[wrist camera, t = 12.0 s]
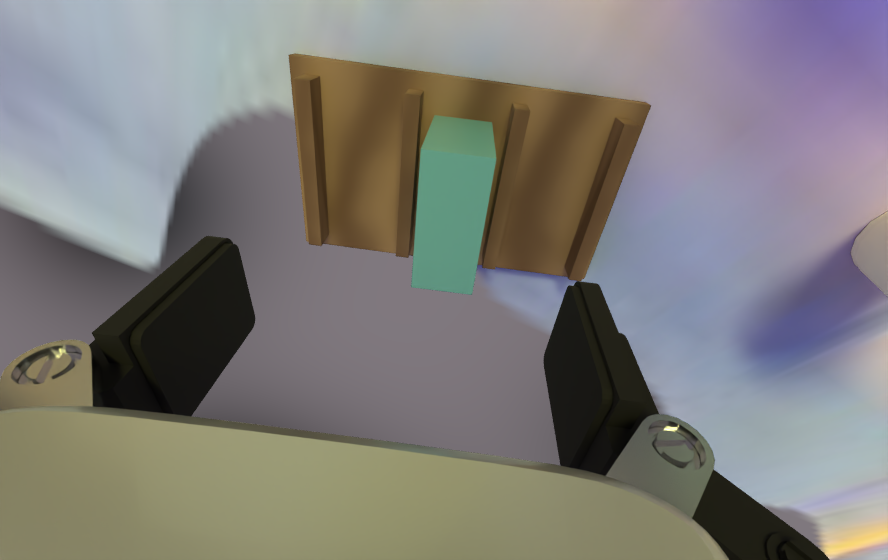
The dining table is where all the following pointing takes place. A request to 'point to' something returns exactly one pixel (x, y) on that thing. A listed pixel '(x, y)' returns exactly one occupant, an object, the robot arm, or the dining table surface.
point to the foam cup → (873, 252)
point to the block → (452, 203)
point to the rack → (515, 175)
